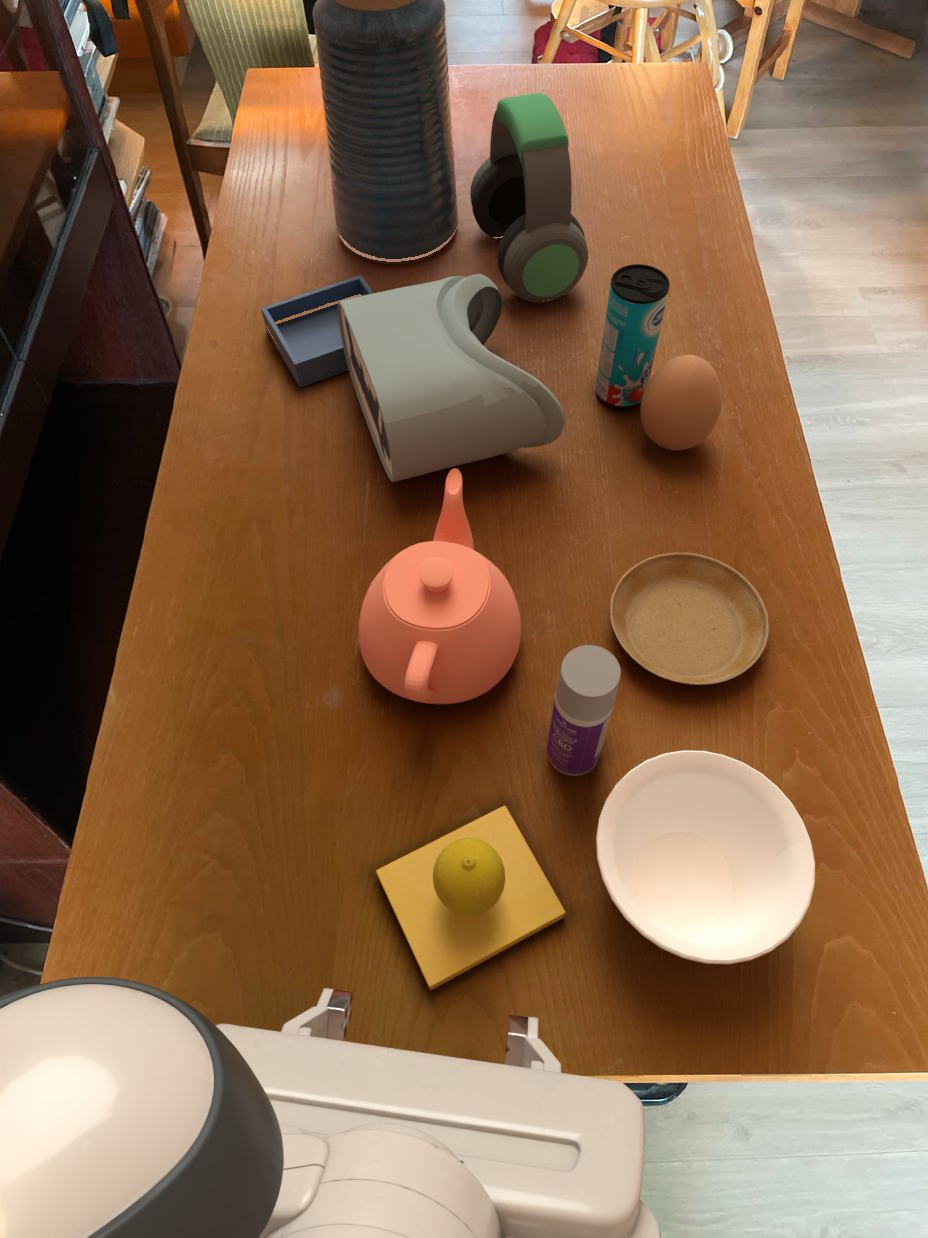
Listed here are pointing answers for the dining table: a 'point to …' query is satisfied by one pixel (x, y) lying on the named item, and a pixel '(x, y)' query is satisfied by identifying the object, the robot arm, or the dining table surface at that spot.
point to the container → (582, 709)
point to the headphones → (530, 200)
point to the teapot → (440, 615)
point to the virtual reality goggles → (440, 377)
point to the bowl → (705, 857)
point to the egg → (681, 403)
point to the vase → (388, 124)
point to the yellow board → (470, 940)
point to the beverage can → (630, 334)
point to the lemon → (469, 876)
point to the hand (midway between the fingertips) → (429, 1014)
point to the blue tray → (312, 330)
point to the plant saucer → (689, 618)
